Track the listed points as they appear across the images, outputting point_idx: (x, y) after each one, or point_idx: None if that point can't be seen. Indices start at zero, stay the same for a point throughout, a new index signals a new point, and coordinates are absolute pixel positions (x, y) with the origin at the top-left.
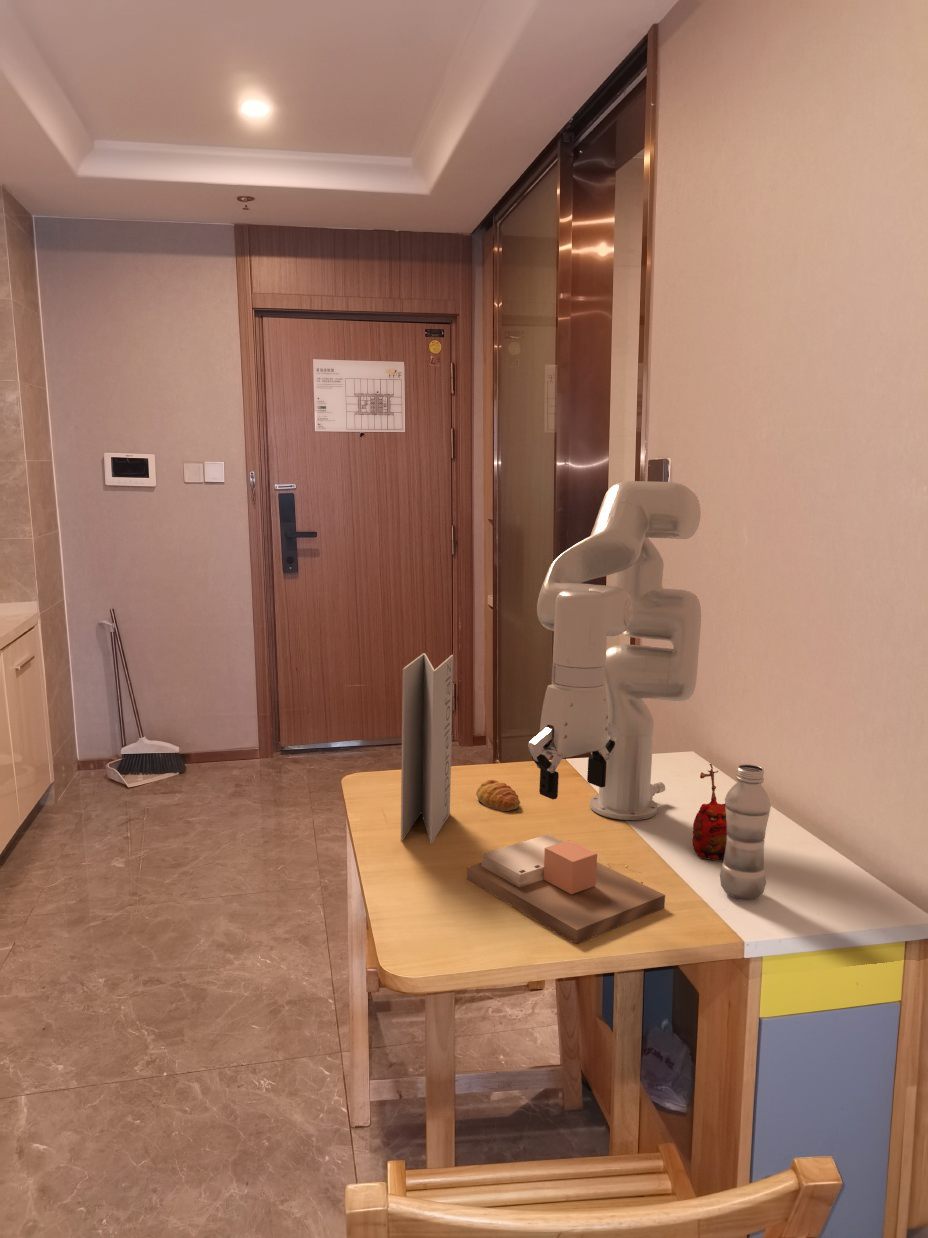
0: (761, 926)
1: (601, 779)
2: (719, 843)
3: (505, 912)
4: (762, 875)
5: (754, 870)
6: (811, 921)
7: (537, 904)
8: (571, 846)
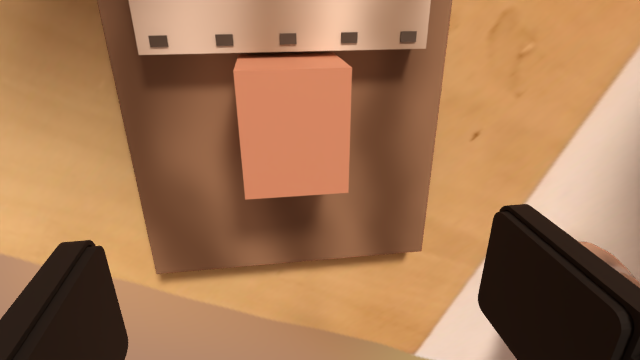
0: (476, 338)
1: (503, 334)
2: None
3: (89, 76)
4: None
5: None
6: None
7: (140, 152)
8: (321, 112)
